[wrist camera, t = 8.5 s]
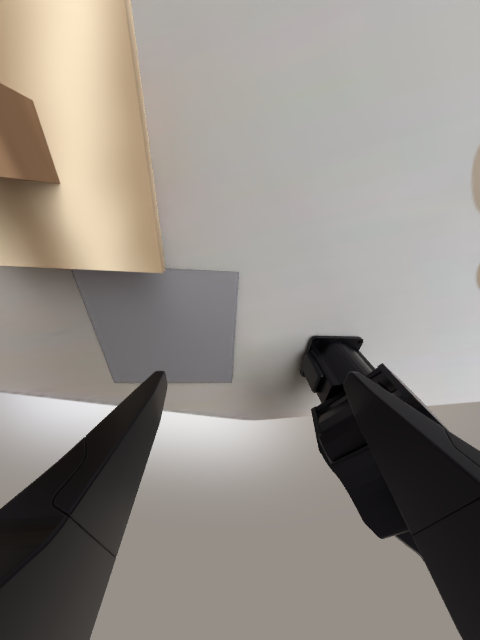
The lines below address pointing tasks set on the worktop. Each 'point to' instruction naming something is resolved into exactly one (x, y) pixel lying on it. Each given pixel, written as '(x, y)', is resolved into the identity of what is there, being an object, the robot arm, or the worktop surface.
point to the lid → (74, 140)
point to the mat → (163, 322)
